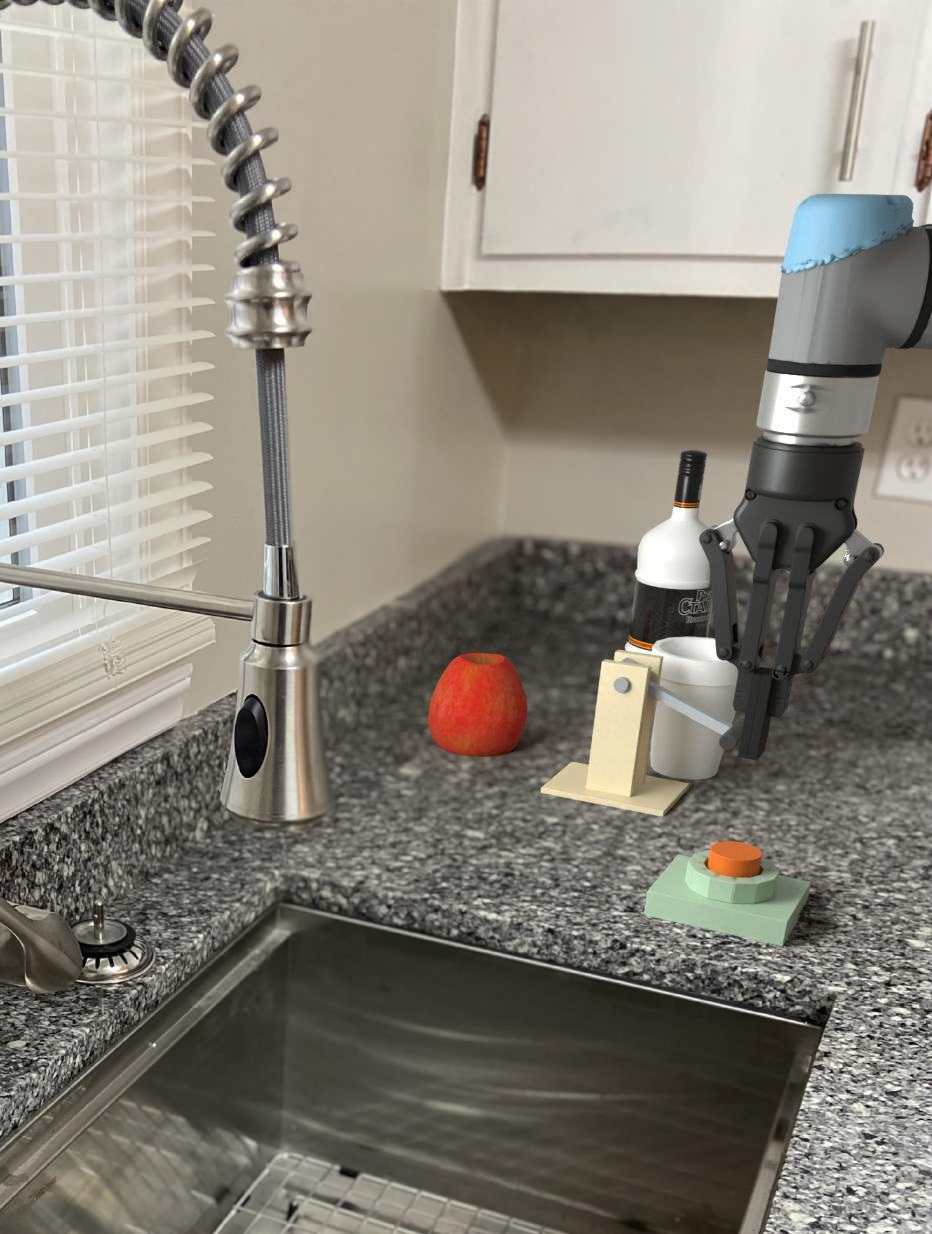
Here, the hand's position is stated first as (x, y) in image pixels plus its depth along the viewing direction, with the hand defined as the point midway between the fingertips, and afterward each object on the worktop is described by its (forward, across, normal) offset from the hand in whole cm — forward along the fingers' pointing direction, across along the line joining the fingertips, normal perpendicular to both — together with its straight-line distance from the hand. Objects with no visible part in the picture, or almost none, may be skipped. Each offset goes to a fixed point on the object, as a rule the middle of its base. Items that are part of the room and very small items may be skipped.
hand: (751, 753), depth 116 cm
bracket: (+14, -16, +21) cm, 30 cm away
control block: (+14, 0, 0) cm, 14 cm away
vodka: (+14, -18, +41) cm, 47 cm away
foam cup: (+14, -12, +31) cm, 36 cm away
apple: (+14, -33, +27) cm, 45 cm away
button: (+10, 0, 0) cm, 10 cm away
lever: (+4, -11, +21) cm, 24 cm away
